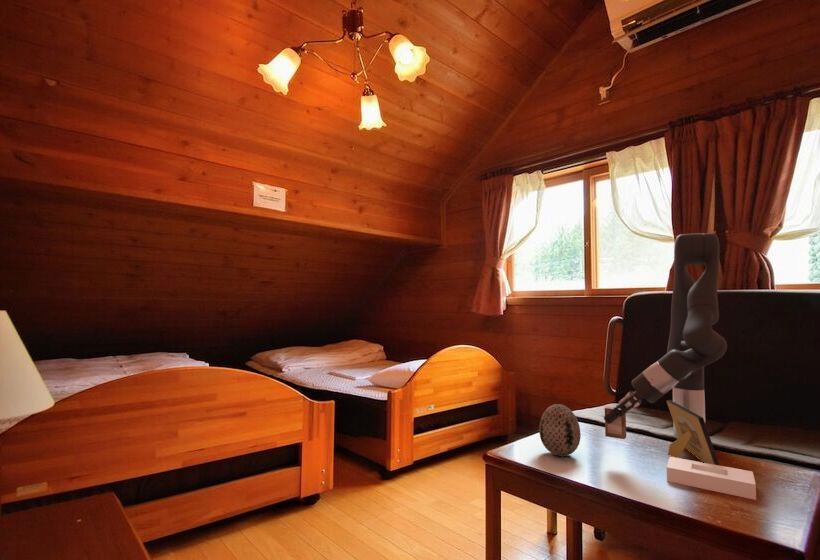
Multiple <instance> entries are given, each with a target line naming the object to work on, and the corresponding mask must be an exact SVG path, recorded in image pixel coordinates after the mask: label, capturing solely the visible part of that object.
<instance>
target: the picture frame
mask: <svg viewBox="0 0 820 560" xmlns="http://www.w3.org/2000/svg"><path fill="white" fill-rule="evenodd" d="M666 404H667V407H668V409H669V413H670V415H671V419H672V421H673V422H674V425H675V428H676V431H677V434H678V437H679V438H678V439H677V438H676V439H675V440H674V441H673V442H672V443H670V444H669V446H668V452H667V456H668V455H671V456H674V457H677V458H680V456H681V454H682V452H683V451H684V450H686V449H687V450H689V451H690V452H691V453H693V454H694V455H695V456H697V457H698V458H699V459H700V460H702V461H703V462H704V463H708V464H714V465H719V466H721V465H720V463H719V460H718V457H717V454H716V451H715V448H714V445H713V443H712V439H711V436H710V434H709V430H708V428H707V424H706V421H705V422H704V419H703V417H701V416H699V415H697V414H695V413H693V412H692V411H690V410H688V409H686V408H684V407H682V406H680V405H679V404H677V403H675V402H673V400H672V399H668V400H666ZM673 422H672V423H673ZM684 448H686V449H684ZM687 450H686V451H687ZM690 452H689V453H690ZM691 453H690V454H691ZM694 455H693V456H694ZM671 456H670V457H671ZM695 456H694V457H695ZM698 458H697V459H698ZM699 459H698V460H699ZM700 460H699V461H700Z"/></svg>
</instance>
